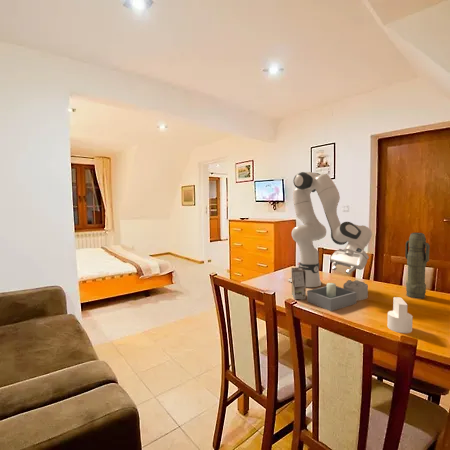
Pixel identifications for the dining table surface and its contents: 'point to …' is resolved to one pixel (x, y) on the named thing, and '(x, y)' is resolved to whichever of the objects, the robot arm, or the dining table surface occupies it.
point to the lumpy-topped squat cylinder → (357, 288)
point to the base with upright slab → (399, 317)
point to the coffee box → (298, 283)
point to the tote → (340, 301)
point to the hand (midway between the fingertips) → (340, 271)
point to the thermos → (416, 265)
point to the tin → (331, 290)
